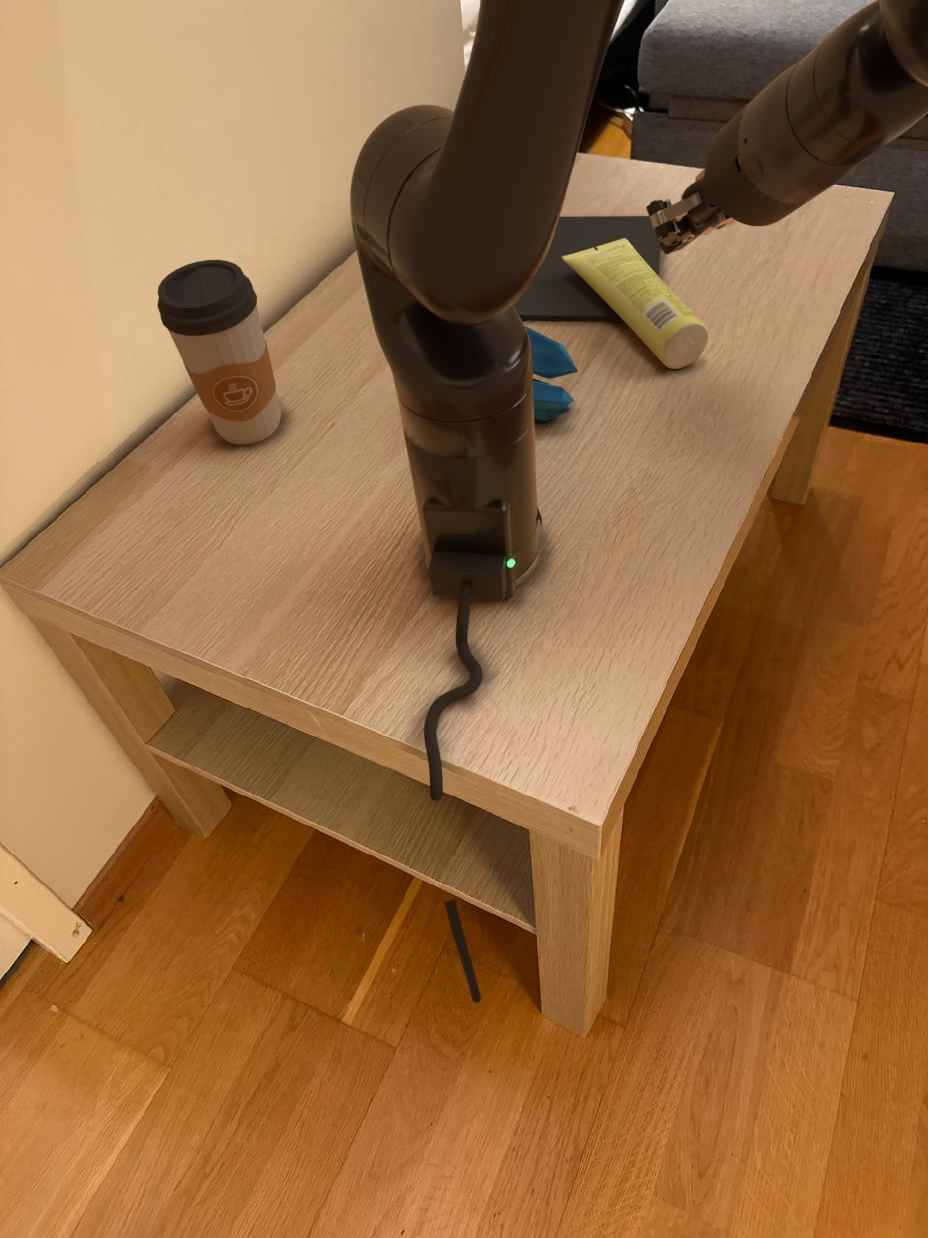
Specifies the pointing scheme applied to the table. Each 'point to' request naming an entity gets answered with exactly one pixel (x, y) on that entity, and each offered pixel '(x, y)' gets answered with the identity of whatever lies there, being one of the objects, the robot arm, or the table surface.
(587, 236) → the mat
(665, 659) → the table surface
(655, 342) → the tube
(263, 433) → the coffee cup
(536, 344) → the crystal
